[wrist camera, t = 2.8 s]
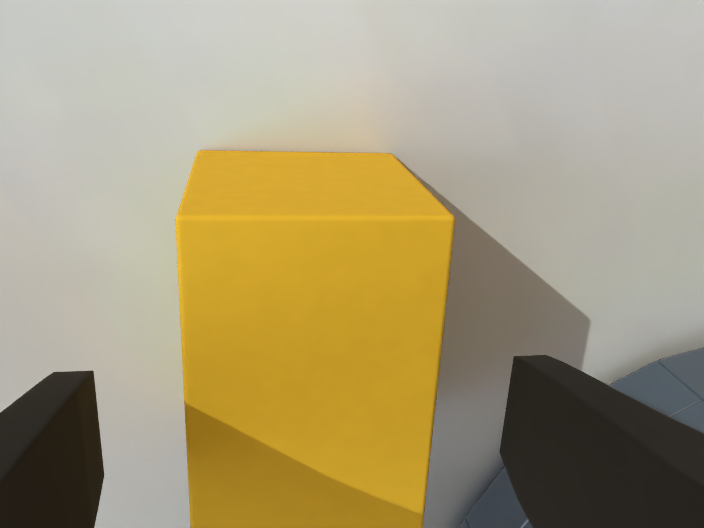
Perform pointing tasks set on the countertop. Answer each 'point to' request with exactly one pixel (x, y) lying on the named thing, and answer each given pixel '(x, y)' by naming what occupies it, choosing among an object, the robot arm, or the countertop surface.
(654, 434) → the robot arm
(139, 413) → the countertop surface
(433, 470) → the countertop surface
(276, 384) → the sponge
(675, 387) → the bowl
